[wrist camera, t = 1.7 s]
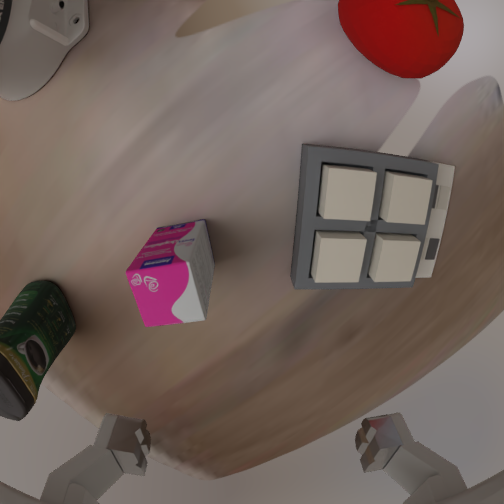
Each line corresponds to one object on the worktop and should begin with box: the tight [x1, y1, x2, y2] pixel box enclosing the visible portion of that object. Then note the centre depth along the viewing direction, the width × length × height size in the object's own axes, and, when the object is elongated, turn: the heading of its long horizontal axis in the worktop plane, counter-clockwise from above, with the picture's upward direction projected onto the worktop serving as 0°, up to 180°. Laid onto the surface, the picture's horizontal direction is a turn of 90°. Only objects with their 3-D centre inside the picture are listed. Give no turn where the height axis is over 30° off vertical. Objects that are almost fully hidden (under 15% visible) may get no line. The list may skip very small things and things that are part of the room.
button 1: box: [368, 232, 421, 282], centre depth 33 cm, size 5×5×2 cm
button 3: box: [310, 230, 367, 283], centre depth 33 cm, size 5×5×2 cm
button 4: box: [318, 164, 377, 221], centre depth 30 cm, size 5×5×2 cm
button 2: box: [379, 171, 433, 225], centre depth 30 cm, size 5×5×2 cm
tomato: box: [338, 0, 464, 78], centre depth 20 cm, size 12×12×13 cm
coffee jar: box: [0, 281, 76, 421], centre depth 29 cm, size 10×8×19 cm
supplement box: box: [126, 219, 215, 327], centre depth 30 cm, size 6×6×12 cm
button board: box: [290, 144, 455, 289], centre depth 34 cm, size 16×20×3 cm
